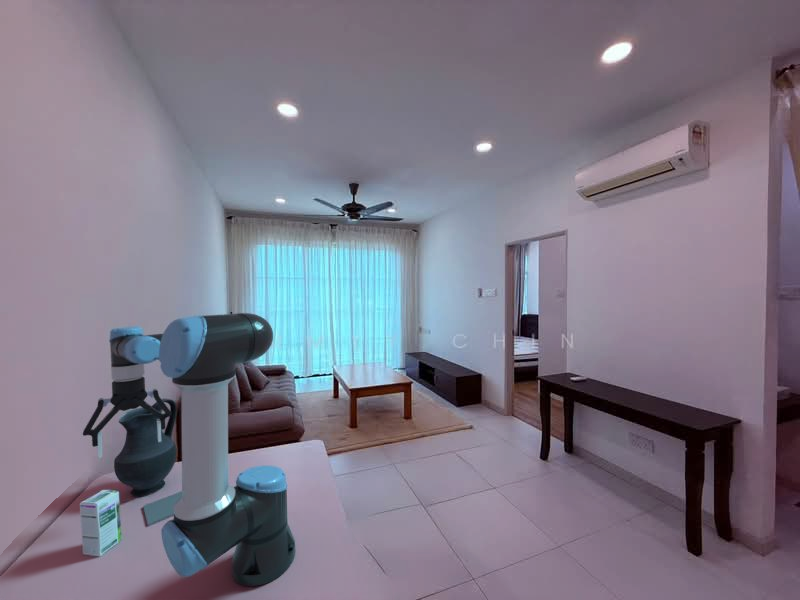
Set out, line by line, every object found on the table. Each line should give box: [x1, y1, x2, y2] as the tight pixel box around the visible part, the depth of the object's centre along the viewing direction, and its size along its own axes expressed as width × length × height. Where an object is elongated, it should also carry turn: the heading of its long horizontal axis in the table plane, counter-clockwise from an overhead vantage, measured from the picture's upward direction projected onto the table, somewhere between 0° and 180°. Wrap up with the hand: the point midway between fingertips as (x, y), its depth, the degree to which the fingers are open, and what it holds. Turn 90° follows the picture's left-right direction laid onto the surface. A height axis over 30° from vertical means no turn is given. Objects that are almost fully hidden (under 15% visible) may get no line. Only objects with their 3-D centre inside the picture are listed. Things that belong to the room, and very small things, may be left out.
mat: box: [142, 490, 182, 527], centre depth 103 cm, size 12×12×1 cm
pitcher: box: [113, 398, 178, 498], centre depth 115 cm, size 17×21×30 cm
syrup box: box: [79, 489, 122, 557], centre depth 87 cm, size 6×6×14 cm
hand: (131, 447), depth 95 cm, fingers open, 13 cm apart
